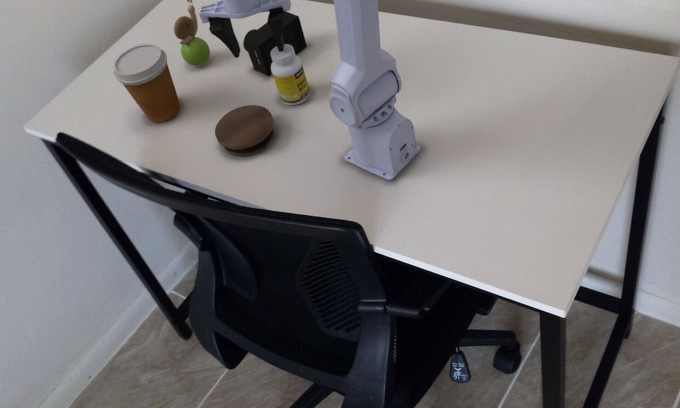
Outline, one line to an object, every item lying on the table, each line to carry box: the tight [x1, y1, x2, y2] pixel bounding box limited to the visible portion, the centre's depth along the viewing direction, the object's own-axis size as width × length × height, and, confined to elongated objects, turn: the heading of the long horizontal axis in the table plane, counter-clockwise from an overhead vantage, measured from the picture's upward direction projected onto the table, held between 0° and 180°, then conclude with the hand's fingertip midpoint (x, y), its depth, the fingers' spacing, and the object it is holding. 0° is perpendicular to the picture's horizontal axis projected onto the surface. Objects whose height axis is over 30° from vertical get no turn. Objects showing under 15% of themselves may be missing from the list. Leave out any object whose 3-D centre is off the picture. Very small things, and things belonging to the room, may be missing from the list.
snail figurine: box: [173, 0, 211, 67], centre depth 128 cm, size 5×6×12 cm
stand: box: [214, 104, 275, 158], centre depth 113 cm, size 10×10×3 cm
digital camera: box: [242, 11, 308, 78], centre depth 126 cm, size 10×5×7 cm, turn 136°
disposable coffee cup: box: [112, 43, 182, 124], centre depth 120 cm, size 10×10×12 cm
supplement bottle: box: [271, 44, 311, 106], centre depth 116 cm, size 5×5×10 cm
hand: (259, 51), depth 113 cm, fingers open, 7 cm apart
